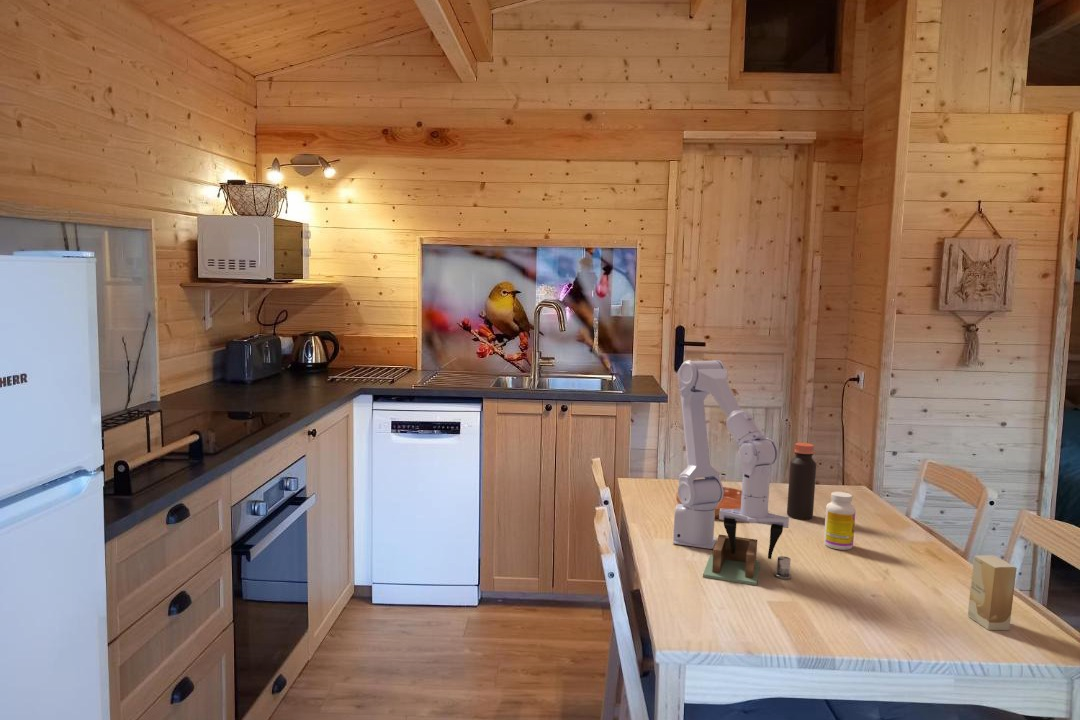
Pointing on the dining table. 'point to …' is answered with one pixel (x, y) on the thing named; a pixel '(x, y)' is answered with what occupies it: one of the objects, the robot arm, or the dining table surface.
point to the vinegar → (802, 482)
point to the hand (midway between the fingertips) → (751, 554)
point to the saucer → (726, 500)
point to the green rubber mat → (732, 571)
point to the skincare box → (991, 592)
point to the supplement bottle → (839, 522)
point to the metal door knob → (783, 568)
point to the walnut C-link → (743, 553)
